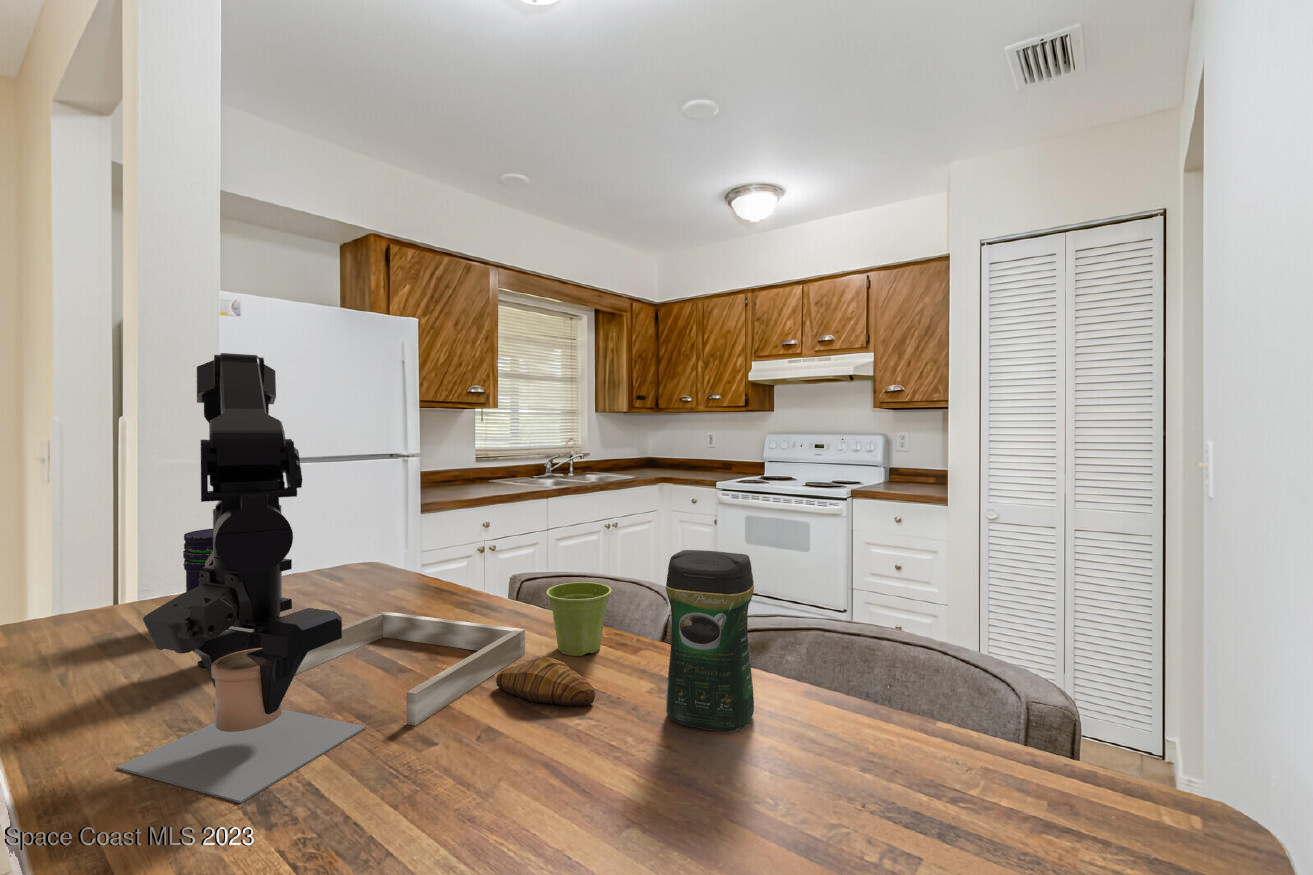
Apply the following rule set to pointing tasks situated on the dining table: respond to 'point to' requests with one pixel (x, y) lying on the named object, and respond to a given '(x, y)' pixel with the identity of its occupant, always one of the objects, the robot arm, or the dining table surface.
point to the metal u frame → (450, 684)
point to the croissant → (546, 683)
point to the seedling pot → (239, 693)
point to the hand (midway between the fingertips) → (249, 707)
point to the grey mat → (242, 755)
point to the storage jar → (196, 555)
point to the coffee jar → (710, 640)
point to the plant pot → (579, 615)
